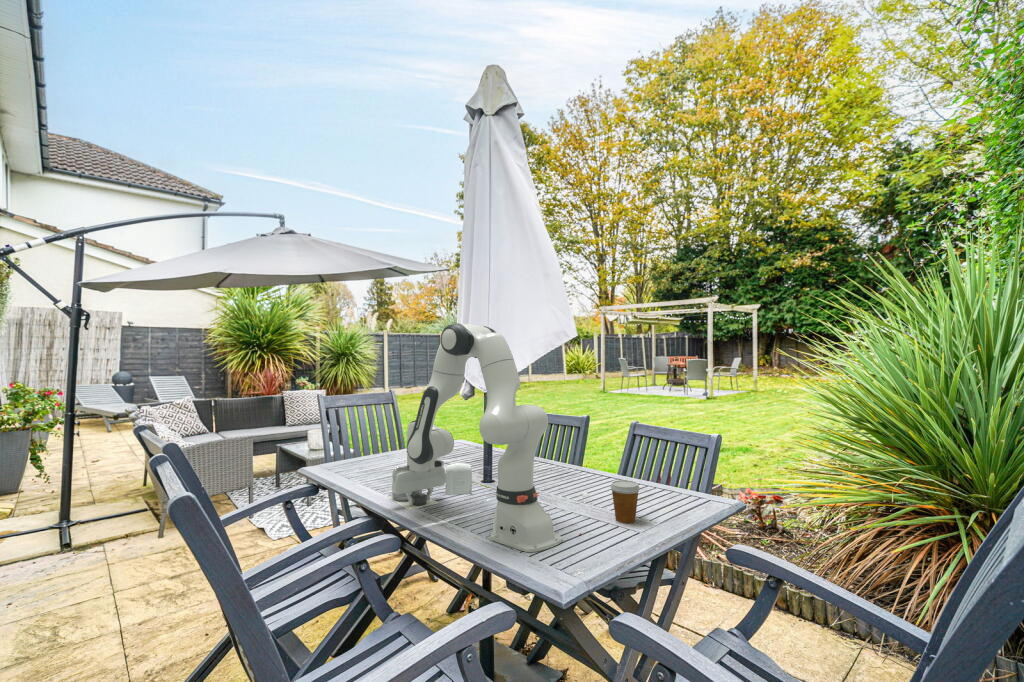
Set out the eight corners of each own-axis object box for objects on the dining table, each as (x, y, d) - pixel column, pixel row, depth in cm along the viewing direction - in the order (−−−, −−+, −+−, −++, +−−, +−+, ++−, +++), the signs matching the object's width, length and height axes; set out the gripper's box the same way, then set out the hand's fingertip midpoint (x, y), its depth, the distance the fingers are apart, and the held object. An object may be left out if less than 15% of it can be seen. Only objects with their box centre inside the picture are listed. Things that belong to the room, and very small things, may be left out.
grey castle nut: (427, 497, 183) (427, 480, 183) (400, 503, 176) (400, 485, 176) (414, 491, 191) (414, 474, 192) (387, 496, 185) (387, 479, 185)
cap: (429, 504, 175) (428, 494, 175) (416, 506, 172) (416, 497, 172) (422, 500, 179) (422, 491, 179) (410, 503, 176) (410, 493, 176)
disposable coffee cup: (608, 515, 165) (608, 479, 165) (637, 515, 164) (636, 479, 165) (612, 525, 156) (612, 487, 156) (643, 525, 155) (642, 487, 155)
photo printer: (471, 492, 192) (471, 461, 193) (472, 496, 188) (472, 464, 188) (445, 494, 191) (445, 462, 191) (445, 497, 187) (445, 465, 187)
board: (438, 505, 177) (438, 502, 177) (408, 512, 169) (408, 509, 169) (415, 493, 192) (415, 491, 192) (386, 499, 184) (386, 497, 184)
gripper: (396, 469, 167) (396, 510, 167) (447, 461, 180) (448, 498, 180) (388, 466, 172) (388, 505, 172) (439, 458, 185) (439, 494, 185)
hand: (419, 501), depth 176 cm, fingers closed on cap, 5 cm apart
